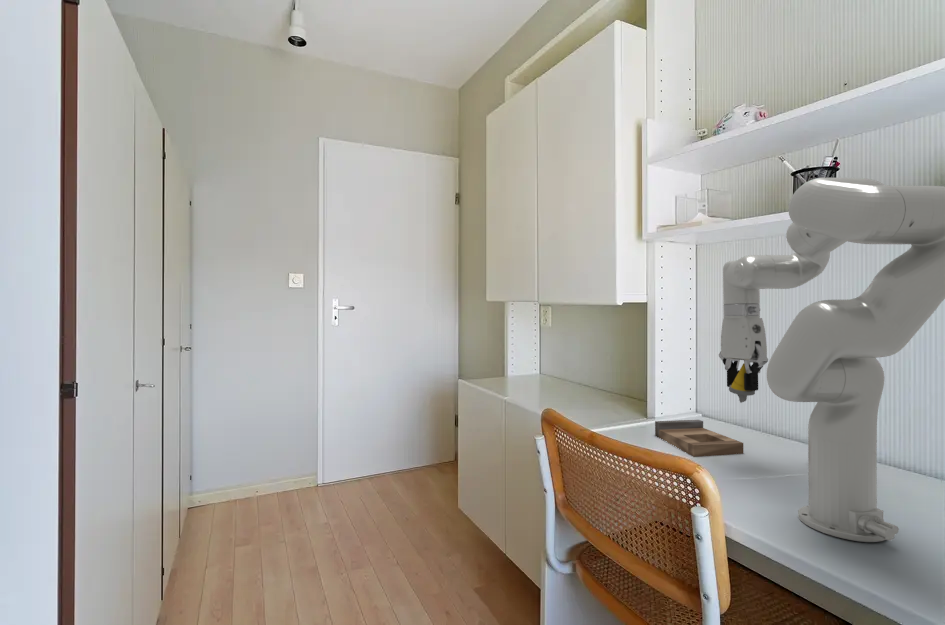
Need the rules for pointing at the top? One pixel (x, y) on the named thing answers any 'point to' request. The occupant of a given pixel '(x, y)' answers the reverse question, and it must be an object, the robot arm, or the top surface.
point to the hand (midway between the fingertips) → (742, 387)
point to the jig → (696, 438)
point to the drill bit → (740, 386)
